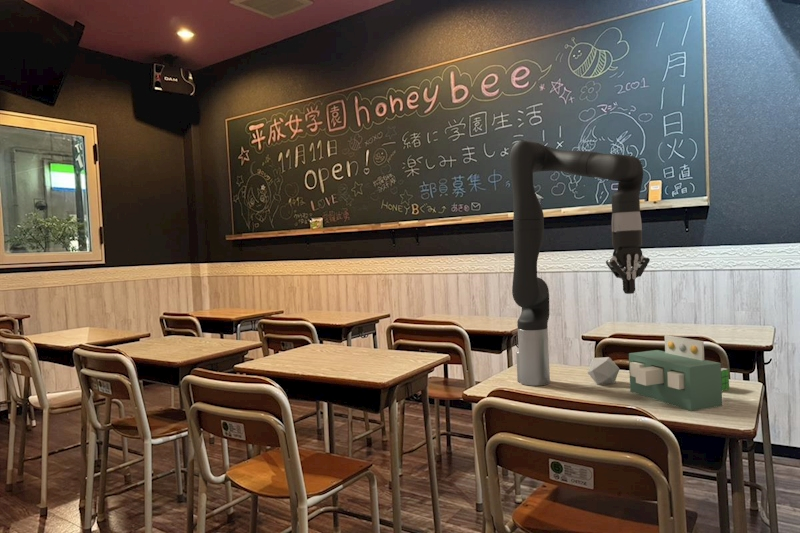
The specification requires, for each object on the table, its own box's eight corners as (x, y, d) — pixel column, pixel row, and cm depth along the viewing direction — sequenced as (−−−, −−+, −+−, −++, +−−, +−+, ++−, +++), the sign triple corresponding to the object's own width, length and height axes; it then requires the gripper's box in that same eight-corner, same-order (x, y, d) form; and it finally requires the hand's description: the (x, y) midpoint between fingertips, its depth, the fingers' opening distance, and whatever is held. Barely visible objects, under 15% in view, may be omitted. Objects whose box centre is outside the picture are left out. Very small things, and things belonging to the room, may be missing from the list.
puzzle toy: (729, 388, 159) (728, 368, 159) (717, 392, 156) (717, 371, 156) (709, 385, 164) (708, 365, 164) (698, 388, 161) (697, 368, 161)
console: (630, 391, 161) (628, 336, 161) (658, 387, 164) (656, 332, 164) (691, 411, 140) (688, 347, 140) (722, 405, 143) (720, 343, 143)
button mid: (635, 382, 151) (635, 368, 151) (654, 380, 152) (653, 366, 152) (646, 385, 147) (645, 371, 147) (664, 383, 149) (664, 368, 149)
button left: (630, 375, 159) (629, 362, 158) (647, 373, 160) (647, 360, 160) (639, 378, 155) (639, 364, 155) (657, 376, 157) (657, 362, 157)
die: (615, 390, 166) (627, 361, 169) (588, 375, 168) (600, 347, 170) (606, 393, 174) (617, 365, 177) (580, 379, 175) (592, 352, 178)
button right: (667, 386, 145) (667, 371, 145) (686, 383, 147) (685, 369, 147) (679, 389, 142) (678, 374, 141) (698, 386, 143) (697, 372, 143)
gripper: (637, 229, 157) (639, 291, 158) (597, 231, 153) (599, 294, 154) (656, 227, 150) (659, 292, 150) (615, 229, 146) (618, 296, 146)
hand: (629, 293), depth 152 cm, fingers closed
